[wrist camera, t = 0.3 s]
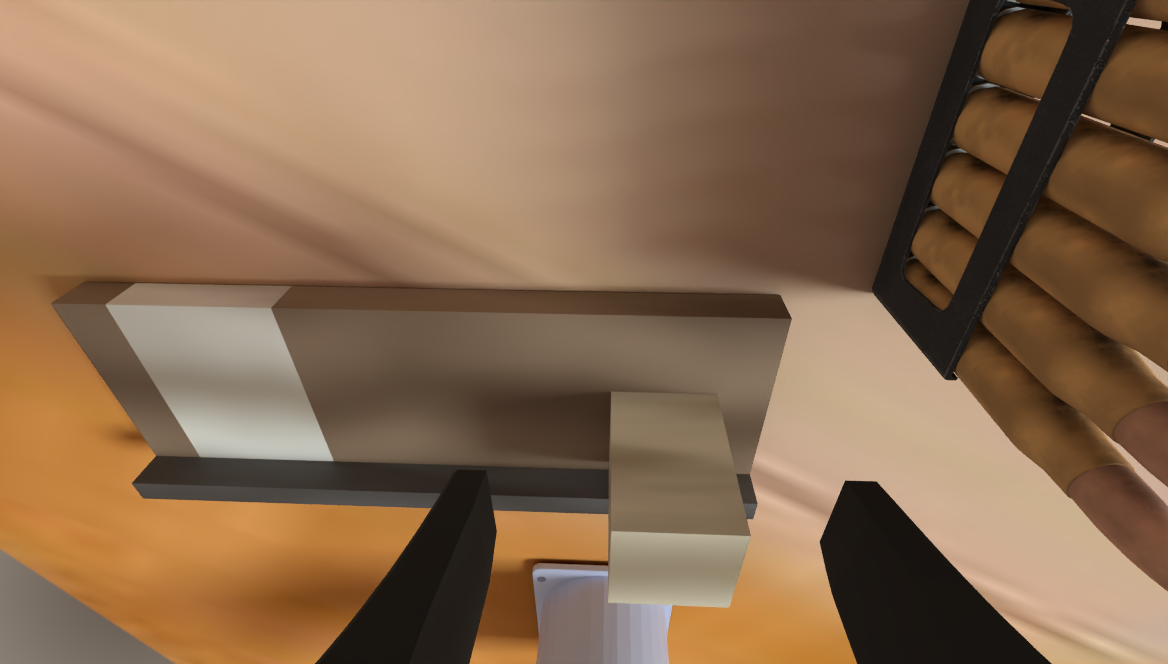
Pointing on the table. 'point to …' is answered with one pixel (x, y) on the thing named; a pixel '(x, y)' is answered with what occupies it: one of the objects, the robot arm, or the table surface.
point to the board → (412, 385)
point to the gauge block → (672, 502)
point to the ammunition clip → (1051, 247)
